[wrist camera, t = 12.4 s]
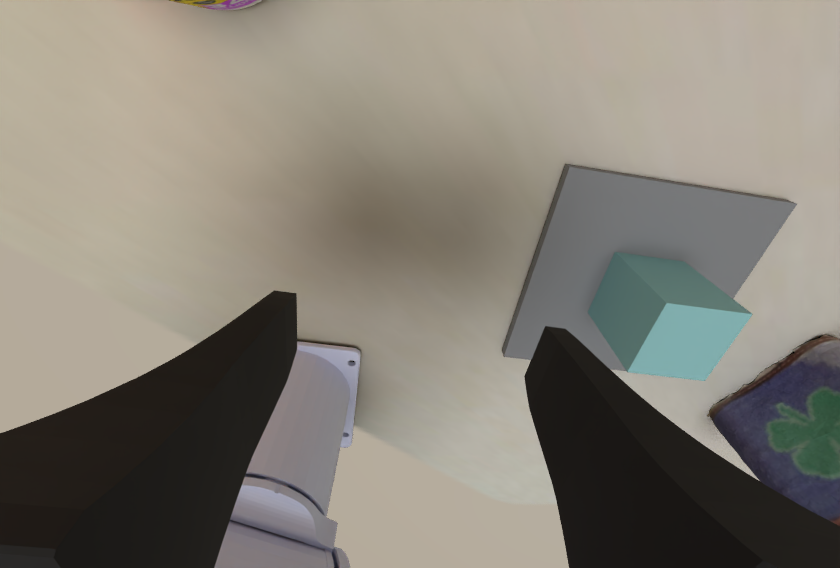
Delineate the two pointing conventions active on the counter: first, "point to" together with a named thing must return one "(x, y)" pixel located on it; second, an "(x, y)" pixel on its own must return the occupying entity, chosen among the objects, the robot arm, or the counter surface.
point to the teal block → (665, 317)
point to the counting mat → (633, 246)
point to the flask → (791, 426)
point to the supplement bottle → (220, 3)
